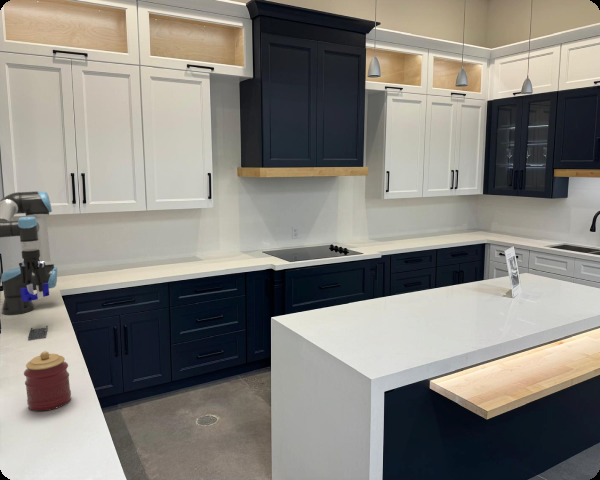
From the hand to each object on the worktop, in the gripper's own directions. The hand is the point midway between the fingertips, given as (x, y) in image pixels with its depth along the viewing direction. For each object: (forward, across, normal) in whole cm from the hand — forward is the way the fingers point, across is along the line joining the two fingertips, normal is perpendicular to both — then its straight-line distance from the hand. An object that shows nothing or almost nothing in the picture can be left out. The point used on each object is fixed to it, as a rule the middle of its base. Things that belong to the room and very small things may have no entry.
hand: (35, 297), depth 239 cm
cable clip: (0, 0, 0) cm, 1 cm away
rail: (+16, +5, -6) cm, 18 cm away
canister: (+18, +63, -60) cm, 89 cm away
